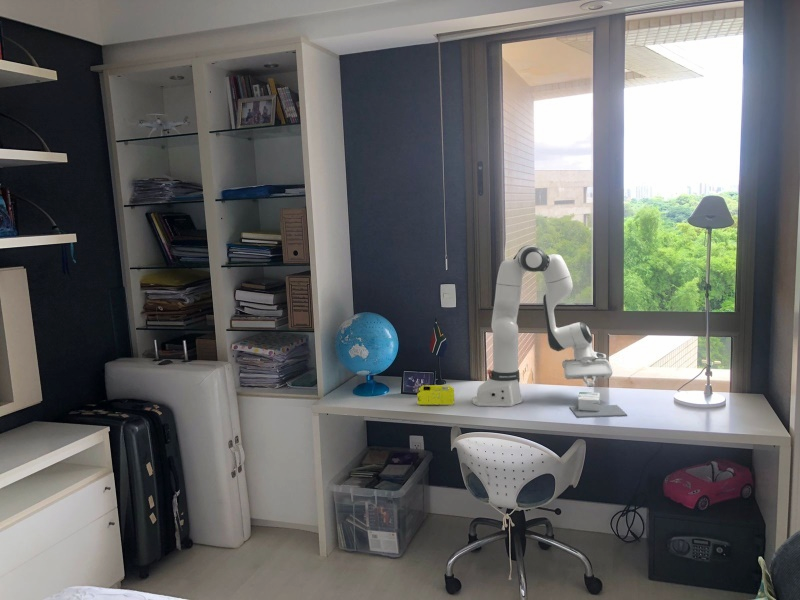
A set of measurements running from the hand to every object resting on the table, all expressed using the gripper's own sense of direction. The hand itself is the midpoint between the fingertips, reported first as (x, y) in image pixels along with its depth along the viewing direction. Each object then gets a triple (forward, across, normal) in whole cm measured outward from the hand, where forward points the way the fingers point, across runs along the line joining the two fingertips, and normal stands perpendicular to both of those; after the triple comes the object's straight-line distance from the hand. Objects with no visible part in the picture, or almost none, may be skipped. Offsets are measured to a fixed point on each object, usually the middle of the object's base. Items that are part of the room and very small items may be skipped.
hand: (591, 386), depth 276 cm
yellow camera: (0, -67, +13) cm, 68 cm away
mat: (+13, 0, -1) cm, 13 cm away
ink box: (+3, 0, +4) cm, 5 cm away
